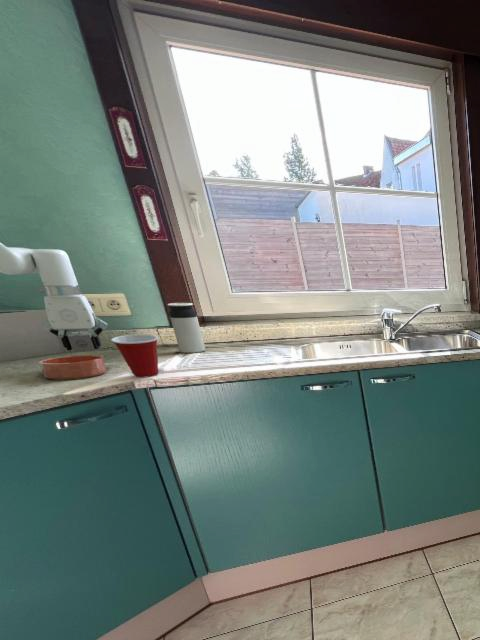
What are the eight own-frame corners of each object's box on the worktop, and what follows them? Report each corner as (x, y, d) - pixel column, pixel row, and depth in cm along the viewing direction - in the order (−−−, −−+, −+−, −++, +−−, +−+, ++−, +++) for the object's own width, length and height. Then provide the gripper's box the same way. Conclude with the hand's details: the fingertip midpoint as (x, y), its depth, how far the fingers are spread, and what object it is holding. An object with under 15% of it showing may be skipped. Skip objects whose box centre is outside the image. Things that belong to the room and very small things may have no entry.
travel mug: (208, 351, 192) (196, 304, 186) (183, 354, 186) (169, 305, 180) (202, 348, 197) (189, 302, 190) (177, 351, 191) (163, 303, 184)
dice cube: (74, 350, 160) (68, 334, 158) (95, 348, 164) (90, 333, 162) (73, 352, 157) (67, 336, 155) (95, 350, 160) (89, 335, 158)
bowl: (37, 382, 144) (30, 365, 142) (55, 372, 155) (49, 356, 153) (99, 378, 150) (93, 362, 148) (112, 369, 161) (107, 354, 159)
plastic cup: (126, 381, 148) (112, 341, 144) (121, 374, 155) (108, 336, 150) (171, 375, 156) (160, 337, 151) (165, 370, 162) (154, 333, 158)
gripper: (18, 292, 146) (42, 353, 153) (96, 292, 155) (115, 349, 161) (29, 290, 152) (52, 348, 159) (104, 290, 161) (122, 345, 167)
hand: (84, 348), depth 160 cm, fingers closed on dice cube, 5 cm apart
